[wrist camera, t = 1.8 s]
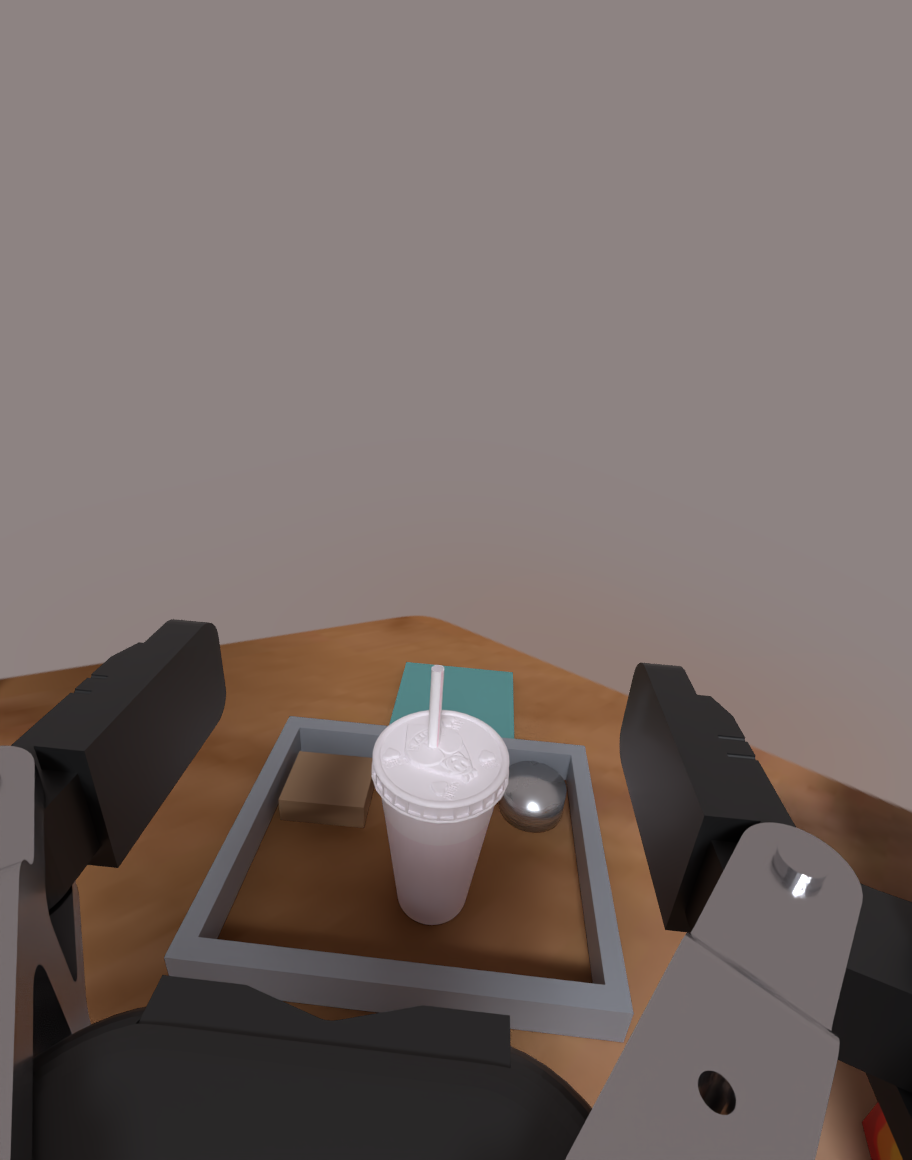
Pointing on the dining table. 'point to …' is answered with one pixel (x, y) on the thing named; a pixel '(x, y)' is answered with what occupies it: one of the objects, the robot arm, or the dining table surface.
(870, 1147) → the baking soda box
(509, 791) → the silver round puck
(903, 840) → the dining table surface
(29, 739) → the robot arm
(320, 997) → the grey rectangular frame
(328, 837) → the dining table surface
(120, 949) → the dining table surface
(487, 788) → the smoothie
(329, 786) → the walnut tile
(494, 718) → the teal mat
